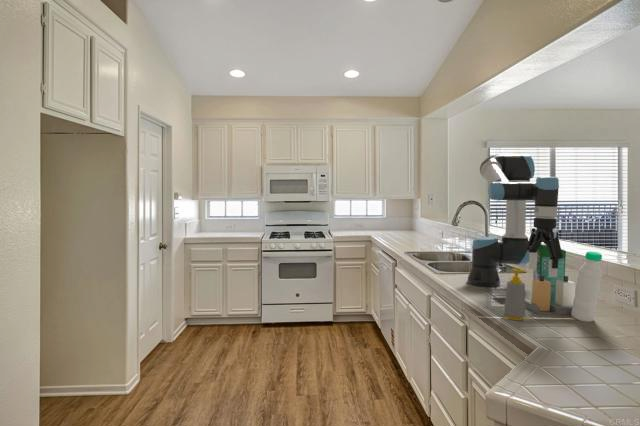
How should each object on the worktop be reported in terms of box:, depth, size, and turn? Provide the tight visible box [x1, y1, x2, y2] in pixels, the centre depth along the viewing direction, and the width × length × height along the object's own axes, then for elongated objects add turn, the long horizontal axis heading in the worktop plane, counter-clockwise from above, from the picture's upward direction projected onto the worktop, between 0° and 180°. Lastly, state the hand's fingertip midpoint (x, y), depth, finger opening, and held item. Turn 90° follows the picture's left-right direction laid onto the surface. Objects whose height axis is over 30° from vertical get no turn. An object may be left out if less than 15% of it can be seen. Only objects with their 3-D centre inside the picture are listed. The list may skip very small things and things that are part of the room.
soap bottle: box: [503, 268, 527, 321], centre depth 141 cm, size 7×7×18 cm
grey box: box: [525, 275, 576, 315], centre depth 149 cm, size 9×21×14 cm, turn 90°
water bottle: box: [570, 251, 604, 323], centre depth 139 cm, size 7×7×25 cm
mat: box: [491, 297, 506, 306], centre depth 161 cm, size 10×10×1 cm
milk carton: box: [532, 242, 567, 301], centre depth 162 cm, size 9×9×25 cm
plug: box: [531, 275, 551, 311], centre depth 149 cm, size 4×4×13 cm
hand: (542, 272), depth 149 cm, fingers open, 13 cm apart
